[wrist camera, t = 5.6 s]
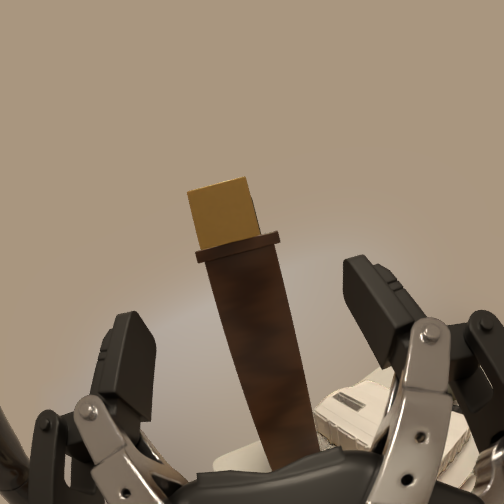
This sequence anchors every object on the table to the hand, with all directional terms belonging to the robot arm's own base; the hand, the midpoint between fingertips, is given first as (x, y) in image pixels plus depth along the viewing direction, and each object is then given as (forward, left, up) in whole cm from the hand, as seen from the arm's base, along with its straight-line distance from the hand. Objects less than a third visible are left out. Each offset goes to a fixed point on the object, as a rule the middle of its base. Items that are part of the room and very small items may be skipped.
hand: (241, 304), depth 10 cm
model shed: (+16, +19, -34) cm, 42 cm away
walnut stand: (0, +19, -34) cm, 39 cm away
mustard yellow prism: (0, +13, +2) cm, 14 cm away
